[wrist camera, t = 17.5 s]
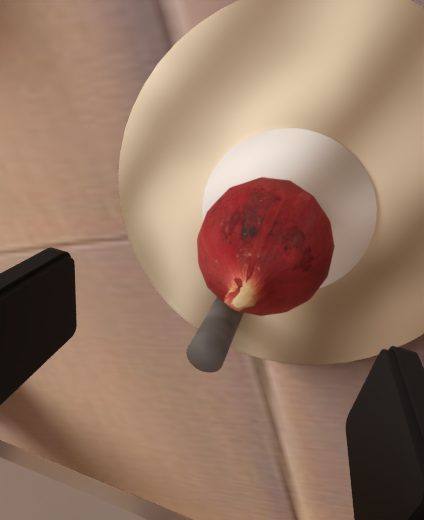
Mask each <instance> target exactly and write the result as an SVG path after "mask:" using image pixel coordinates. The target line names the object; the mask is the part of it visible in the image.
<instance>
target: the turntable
mask: <svg viewBox="0 0 424 520" xmlns="http://www.w3.org/2000/svg"><path fill="white" fill-rule="evenodd" d="M118 176H119V198H120V204H121V211H122V217H123V221H124V224H125V228H126V232H127V236H128V238H129V241H130V243H131V246H132V248H133V251H134V254H135V256H136V258H137V260H138V261H139V263H140V265H141V267H142V269H143V271H144V273H145V274H146V276H147V277H148V279H149V280H150V282H151V283H152V285H153V286H154V288H155V289H156V290H157V291H158V292H159V294H160V295H161V296H162V297H163V298H164V300H165V301H166V302H167V303H168V304H169V305H170V306H171V307H172V308H173V309H174V310H175V311H176V312H177V313H178V314H179V315H180V316H181V317H183V318H184V319H185V320H186V321H188V322H189V323H190V324H191V325H193V326H194V327H195V328H197V329H198V331H197V333H196V335H195V336H194V338H193V340H192V342H191V343H190V345H189V347H188V349H187V357H188V360H189V361H190V363H191V364H192V365H193V366H194V367H196V368H197V369H199V370H201V371H204V372H215V371H218V370H219V369H220V368H221V367H222V365H223V362H224V360H225V357H226V355H227V353H228V350H229V348H232V349H235V350H237V351H240V352H242V353H245V354H248V355H251V356H255V357H258V358H262V359H265V360H270V361H276V362H281V363H288V364H299V365H329V364H337V363H346V362H352V361H356V360H361V359H365V358H370V357H373V356H376V355H379V353H380V351H381V350H382V349H386V350H388V349H389V348H390V347H391V346H395V347H399V346H402V345H404V344H406V343H408V342H410V341H412V340H414V339H416V338H417V337H419V336H421V335H422V334H424V8H423V7H422V6H420V5H418V4H417V3H415V2H413V1H411V0H239V1H237V2H235V3H233V4H230V5H228V6H226V7H224V8H222V9H220V10H219V11H217V12H216V13H214V14H213V15H211V16H210V17H208V18H207V19H205V20H203V21H202V22H200V23H199V24H197V25H196V26H195V27H194V28H193V29H192V30H190V31H189V32H188V33H187V34H186V35H185V36H184V37H182V38H181V39H180V40H179V41H178V42H177V43H176V44H175V45H174V46H173V47H172V48H171V49H170V50H169V52H168V53H167V54H166V55H165V56H164V57H163V59H162V60H161V61H160V62H159V63H158V64H157V66H156V67H155V69H154V70H153V72H152V73H151V75H150V76H149V78H148V80H147V81H146V83H145V84H144V86H143V88H142V90H141V92H140V94H139V96H138V98H137V100H136V102H135V104H134V106H133V108H132V111H131V114H130V117H129V120H128V123H127V126H126V129H125V132H124V137H123V142H122V147H121V152H120V163H119V175H118ZM260 177H265V178H274V179H282V180H290V181H292V182H293V183H295V184H296V185H298V186H299V187H301V188H302V189H304V190H305V191H307V192H309V193H310V194H312V195H313V196H314V197H315V199H316V200H317V202H318V203H319V205H320V206H321V208H322V209H323V211H324V212H325V214H326V215H327V217H328V218H329V220H330V222H331V228H332V234H333V240H334V246H335V247H334V252H333V256H332V261H331V265H330V269H329V273H328V277H327V278H326V279H325V281H324V282H323V283H322V285H321V286H320V287H319V289H318V290H317V291H316V293H315V294H314V295H313V297H312V298H311V299H310V300H309V301H307V302H305V303H303V304H301V305H299V306H298V307H296V308H294V309H292V310H290V311H288V312H285V313H279V314H272V315H265V316H258V315H253V314H248V313H244V312H240V311H236V310H233V309H231V308H229V307H228V306H227V305H226V304H225V303H223V302H222V301H221V300H220V299H219V298H218V297H217V296H216V295H215V294H214V293H213V292H212V291H211V290H210V289H209V288H208V287H207V285H206V283H205V280H204V278H203V275H202V273H201V270H200V268H199V264H198V251H197V238H198V234H199V231H200V229H201V226H202V223H203V221H204V218H205V216H206V213H207V211H208V210H209V209H210V208H211V207H212V206H213V204H214V203H215V202H216V201H217V200H218V199H219V198H220V197H221V196H222V195H223V194H224V193H225V192H226V191H227V190H228V189H229V188H230V187H233V186H236V185H239V184H242V183H245V182H248V181H251V180H254V179H257V178H260Z"/></svg>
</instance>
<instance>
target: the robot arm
mask: <svg viewBox="0 0 424 520" xmlns="http://www.w3.org/2000/svg"><path fill="white" fill-rule="evenodd" d="M75 331H76V295H75V265H74V260H73V259H72V258H71V256H70V254H69V253H68V252H65V251H62V250H58V249H55V248H47V249H45V250H44V251H42V252H40V253H38V254H36V255H34V256H32V257H30V258H29V259H27V260H25V261H23V262H21V263H19V264H17V265H16V266H14V267H12V268H10V269H8V270H6V271H4V272H2V273H1V274H0V405H1V404H2V403H3V402H4V401H5V400H6V399H7V398H8V397H9V396H10V395H11V394H12V393H13V392H15V391H16V390H17V389H18V388H19V387H20V386H21V385H22V384H23V383H24V382H25V381H26V380H27V379H28V378H29V377H30V376H31V375H32V374H33V373H34V372H35V371H37V370H38V369H39V368H40V367H41V366H42V365H43V364H44V363H45V362H46V361H47V360H48V359H49V358H50V357H51V356H52V355H53V354H54V353H55V352H56V351H58V350H59V349H60V348H61V347H62V346H63V345H64V344H65V343H66V342H67V341H68V340H69V339H70V338H71V337H72V336H73V334H74V333H75ZM346 436H347V446H348V457H349V467H350V477H351V488H352V498H353V508H354V519H355V520H424V368H423V366H422V363H421V361H420V359H419V356H418V354H417V353H415V352H413V351H409V350H406V349H402V348H399V347H395V346H391V347H390V348H389V349H388V350H386V349H382V350H381V351H380V353H379V355H378V357H377V359H376V361H375V363H374V365H373V367H372V369H371V371H370V373H369V375H368V377H367V379H366V381H365V383H364V385H363V387H362V389H361V391H360V393H359V395H358V397H357V399H356V401H355V403H354V405H353V407H352V409H351V411H350V413H349V415H348V417H347V421H346ZM0 520H192V519H190V518H188V517H185V516H183V515H180V514H178V513H176V512H173V511H171V510H169V509H166V508H164V507H161V506H159V505H157V504H154V503H152V502H149V501H147V500H144V499H142V498H140V497H137V496H135V495H132V494H130V493H128V492H125V491H123V490H120V489H118V488H115V487H113V486H111V485H108V484H106V483H103V482H101V481H99V480H96V479H94V478H91V477H89V476H86V475H84V474H82V473H79V472H77V471H74V470H72V469H69V468H67V467H65V466H62V465H60V464H57V463H55V462H52V461H50V460H48V459H45V458H43V457H40V456H38V455H35V454H33V453H31V452H28V451H26V450H23V449H21V448H18V447H16V446H13V445H11V444H8V443H6V442H3V441H1V440H0Z"/></svg>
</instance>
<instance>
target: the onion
mask: <svg viewBox="0 0 424 520" xmlns="http://www.w3.org/2000/svg"><path fill="white" fill-rule="evenodd" d="M334 247H335V246H334V240H333V234H332V228H331V222H330V220H329V218H328V217H327V215H326V214H325V212H324V211H323V209H322V208H321V206H320V205H319V203H318V202H317V200H316V199H315V197H314V196H313V195H312V194H310V193H309V192H307V191H305V190H304V189H302V188H301V187H299V186H298V185H296V184H295V183H293V182H292V181H290V180H282V179H274V178H265V177H260V178H257V179H254V180H251V181H248V182H245V183H242V184H239V185H236V186H233V187H230V188H229V189H228V190H227V191H226V192H225V193H224V194H223V195H222V196H221V197H220V198H219V199H218V200H217V201H216V202H215V203H214V204H213V206H212V207H211V208H210V209H209V210H208V211H207V213H206V216H205V218H204V221H203V223H202V226H201V229H200V231H199V234H198V238H197V251H198V264H199V268H200V270H201V273H202V275H203V278H204V280H205V283H206V285H207V287H208V288H209V289H210V290H211V291H212V292H213V293H214V294H215V295H216V296H217V297H218V298H219V299H220V300H221V301H222V302H223V303H225V304H226V305H227V306H228V307H229V308H231V309H233V310H236V311H240V312H244V313H248V314H253V315H258V316H265V315H272V314H279V313H285V312H288V311H290V310H292V309H294V308H296V307H298V306H299V305H301V304H303V303H305V302H307V301H309V300H310V299H311V298H312V297H313V295H314V294H315V293H316V291H317V290H318V289H319V287H320V286H321V285H322V283H323V282H324V281H325V279H326V278H327V277H328V273H329V269H330V265H331V261H332V256H333V252H334Z"/></svg>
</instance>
